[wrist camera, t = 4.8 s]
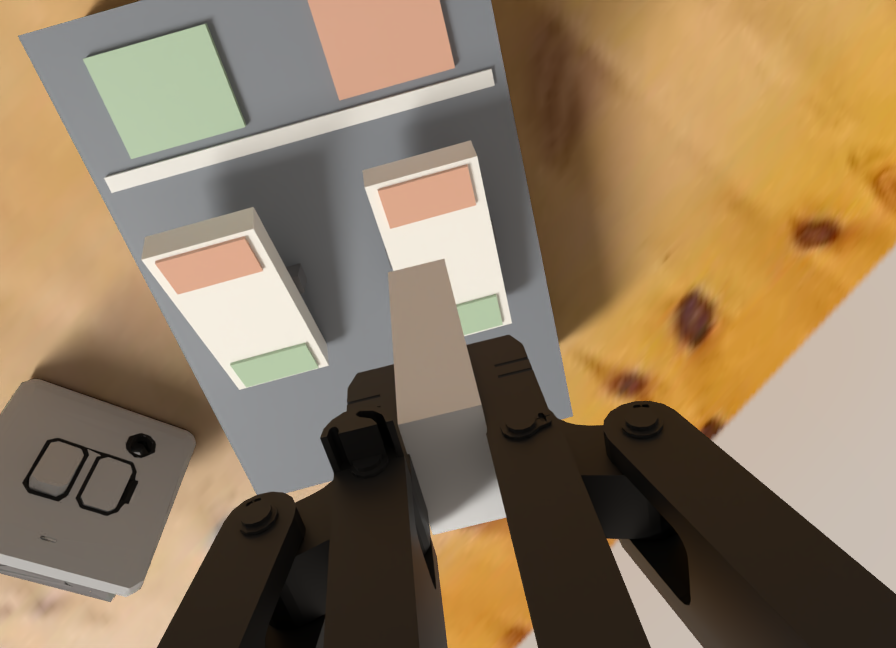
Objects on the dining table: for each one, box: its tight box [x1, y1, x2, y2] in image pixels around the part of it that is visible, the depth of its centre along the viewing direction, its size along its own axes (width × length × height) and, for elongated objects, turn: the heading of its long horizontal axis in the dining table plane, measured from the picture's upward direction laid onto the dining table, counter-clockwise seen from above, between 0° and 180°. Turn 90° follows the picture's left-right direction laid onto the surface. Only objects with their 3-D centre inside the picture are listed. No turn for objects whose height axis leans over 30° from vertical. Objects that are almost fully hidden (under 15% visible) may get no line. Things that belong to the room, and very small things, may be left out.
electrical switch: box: [0, 379, 196, 602], centre depth 35 cm, size 9×5×9 cm, turn 60°
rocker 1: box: [141, 207, 329, 390], centre depth 27 cm, size 8×4×1 cm, turn 15°
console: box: [18, 0, 573, 495], centre depth 31 cm, size 22×16×7 cm
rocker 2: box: [362, 140, 512, 336], centre depth 27 cm, size 8×4×1 cm, turn 15°
